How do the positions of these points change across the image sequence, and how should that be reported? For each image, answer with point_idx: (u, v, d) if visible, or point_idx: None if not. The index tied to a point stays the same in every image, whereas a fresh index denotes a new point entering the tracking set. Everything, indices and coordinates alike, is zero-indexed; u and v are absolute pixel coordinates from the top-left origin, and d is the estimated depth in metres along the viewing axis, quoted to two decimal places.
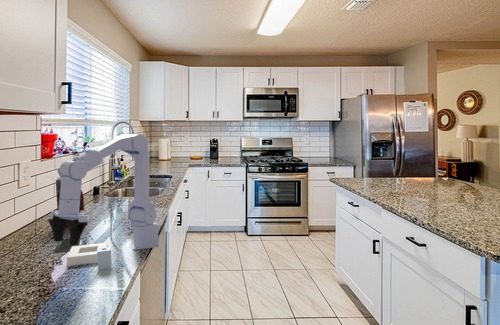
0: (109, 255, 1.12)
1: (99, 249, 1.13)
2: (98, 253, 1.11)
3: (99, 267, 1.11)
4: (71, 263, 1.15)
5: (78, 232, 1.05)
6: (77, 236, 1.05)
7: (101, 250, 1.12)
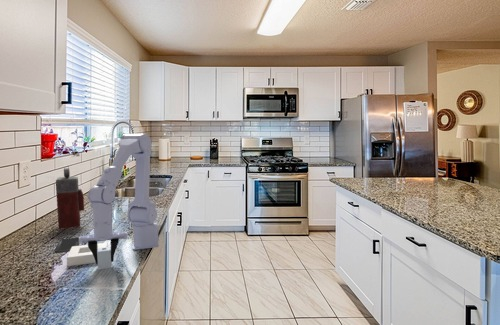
0: (109, 255, 1.12)
1: (99, 249, 1.13)
2: (98, 253, 1.11)
3: (99, 267, 1.11)
4: (71, 263, 1.15)
5: None
6: None
7: (101, 250, 1.12)
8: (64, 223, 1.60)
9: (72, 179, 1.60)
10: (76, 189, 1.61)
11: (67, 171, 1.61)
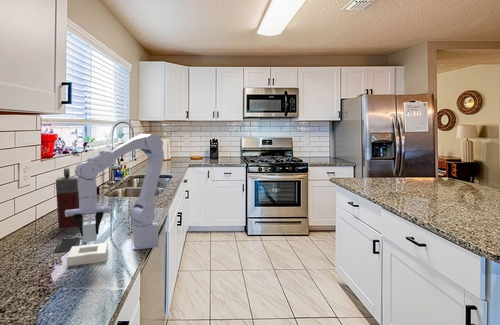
0: (94, 228, 1.18)
1: (84, 223, 1.19)
2: (83, 226, 1.17)
3: (84, 239, 1.17)
4: (71, 263, 1.15)
5: None
6: None
7: (86, 224, 1.18)
8: (64, 223, 1.60)
9: (72, 179, 1.60)
10: (76, 189, 1.61)
11: (67, 171, 1.61)
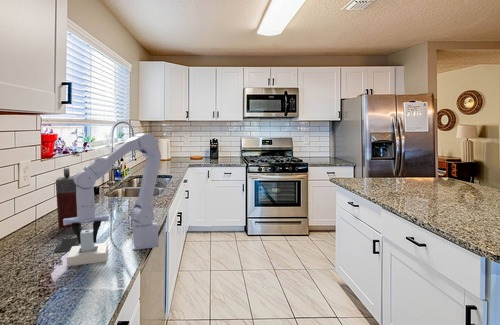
0: (91, 237, 1.20)
1: (82, 231, 1.20)
2: (81, 235, 1.18)
3: (82, 248, 1.19)
4: (71, 263, 1.15)
5: None
6: None
7: (84, 232, 1.20)
8: None
9: (72, 179, 1.60)
10: None
11: (67, 171, 1.61)
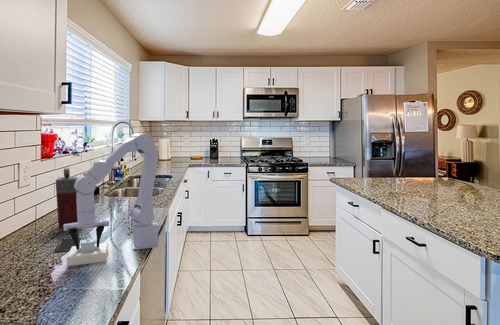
0: (92, 246, 1.20)
1: (83, 241, 1.21)
2: (82, 244, 1.19)
3: None
4: (71, 263, 1.15)
5: None
6: None
7: (85, 242, 1.20)
8: (64, 223, 1.60)
9: (72, 179, 1.60)
10: None
11: (67, 171, 1.61)
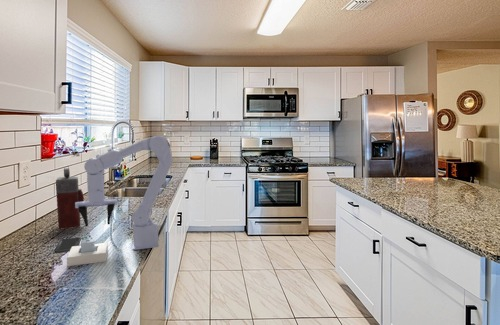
0: (92, 246, 1.20)
1: (83, 241, 1.21)
2: (82, 244, 1.19)
3: None
4: (71, 263, 1.15)
5: None
6: None
7: (85, 242, 1.20)
8: (64, 223, 1.60)
9: (72, 179, 1.60)
10: (76, 189, 1.61)
11: (67, 171, 1.61)
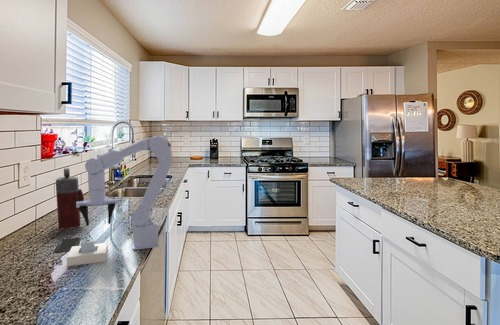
0: (92, 246, 1.20)
1: (83, 241, 1.21)
2: (82, 244, 1.19)
3: None
4: (71, 263, 1.15)
5: None
6: None
7: (85, 242, 1.20)
8: (64, 223, 1.60)
9: (72, 179, 1.60)
10: (76, 189, 1.61)
11: (67, 171, 1.61)
